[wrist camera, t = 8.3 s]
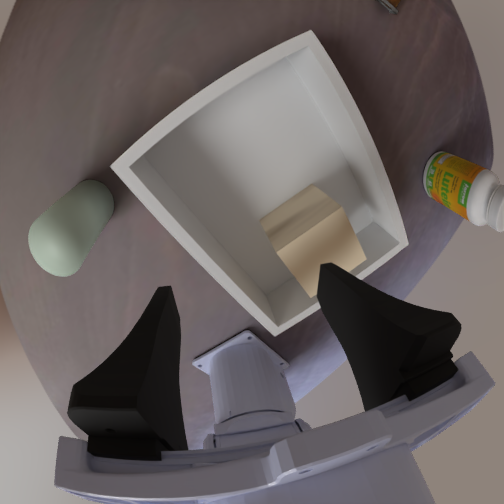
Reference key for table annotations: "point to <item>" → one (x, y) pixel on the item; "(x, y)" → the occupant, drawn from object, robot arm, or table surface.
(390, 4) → the wooden post with brackets
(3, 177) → the table surface
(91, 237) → the sage cylinder
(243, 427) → the robot arm
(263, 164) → the tote
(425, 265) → the table surface
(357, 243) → the maple cube
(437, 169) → the supplement bottle
